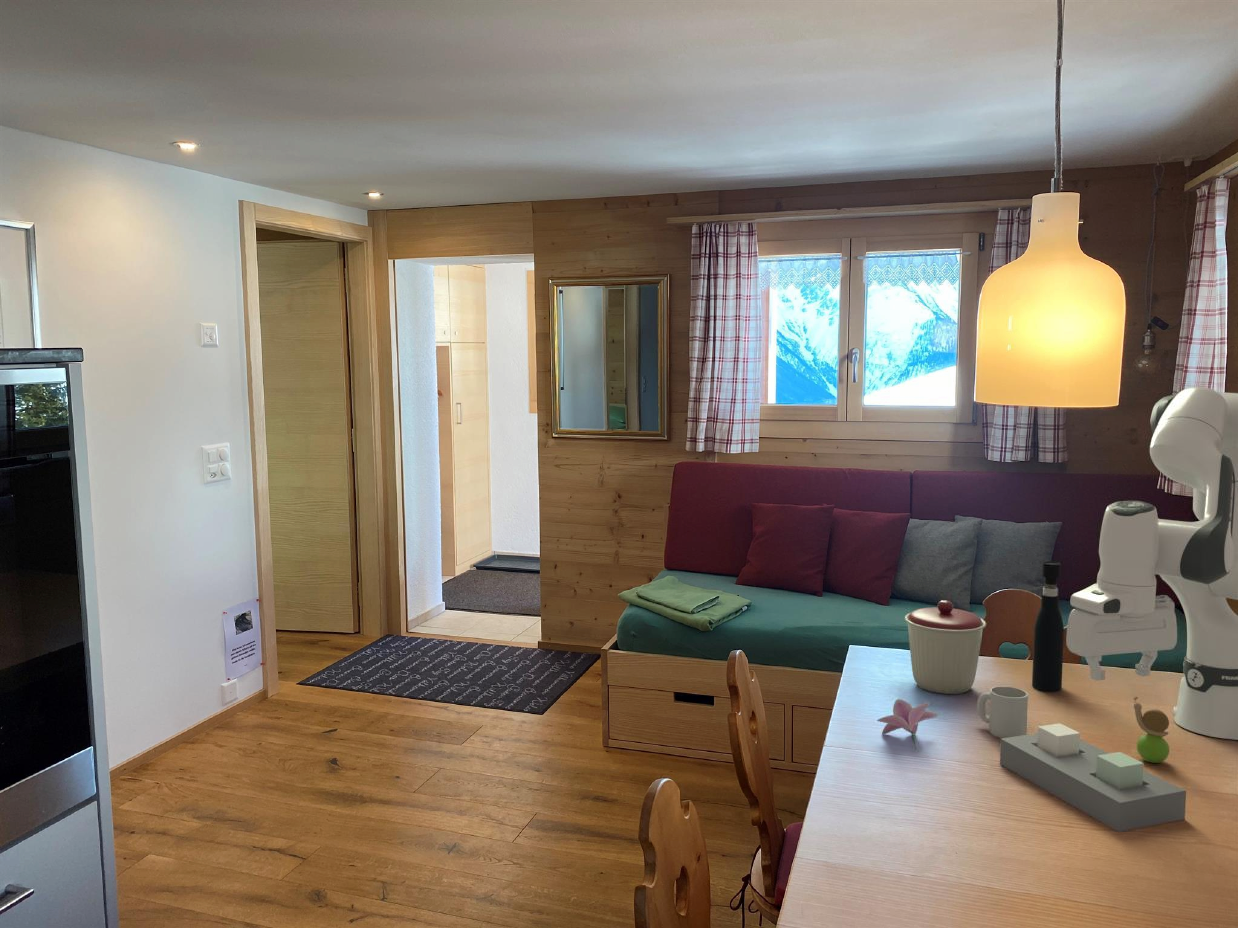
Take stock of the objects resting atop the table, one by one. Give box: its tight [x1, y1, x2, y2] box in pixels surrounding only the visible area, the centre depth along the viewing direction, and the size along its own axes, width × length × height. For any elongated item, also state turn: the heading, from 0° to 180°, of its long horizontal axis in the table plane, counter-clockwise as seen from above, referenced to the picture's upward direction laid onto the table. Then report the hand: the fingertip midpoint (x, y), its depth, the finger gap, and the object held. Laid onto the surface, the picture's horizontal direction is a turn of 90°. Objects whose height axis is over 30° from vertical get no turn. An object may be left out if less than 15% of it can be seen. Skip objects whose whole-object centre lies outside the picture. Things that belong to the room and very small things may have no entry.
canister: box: [904, 599, 987, 695], centre depth 220 cm, size 18×18×21 cm
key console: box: [999, 732, 1187, 833], centre depth 167 cm, size 14×28×5 cm, turn 18°
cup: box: [976, 685, 1029, 739], centre depth 193 cm, size 7×10×9 cm
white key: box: [1037, 722, 1081, 757], centre depth 173 cm, size 5×5×5 cm
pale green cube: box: [1096, 751, 1144, 790], centre depth 160 cm, size 5×5×5 cm
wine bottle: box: [1031, 560, 1065, 693], centre depth 219 cm, size 6×6×30 cm
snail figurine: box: [1133, 696, 1170, 764], centre depth 178 cm, size 5×6×12 cm
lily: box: [876, 698, 939, 750], centre depth 189 cm, size 12×12×10 cm
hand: (1120, 677), depth 159 cm, fingers open, 8 cm apart
